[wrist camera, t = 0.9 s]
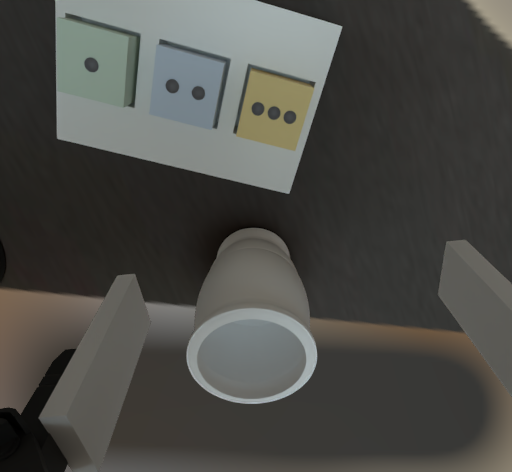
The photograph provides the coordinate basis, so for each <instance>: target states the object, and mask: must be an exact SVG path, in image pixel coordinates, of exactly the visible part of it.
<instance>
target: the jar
mask: <svg viewBox="0 0 512 472" xmlns="http://www.w3.org/2000/svg"><path fill="white" fill-rule="evenodd" d="M316 362H317V349H316V344H315V340H314V338H313V335H312V333H311V331H310V313H309V305H308V300H307V295H306V292H305V289H304V286H303V284H302V281H301V279H300V277H299V275H298V273H297V271H296V268H295V266H294V264H293V262H292V261H291V259H290V254H289V251H288V248H287V246H286V244H285V243H284V241H283V240H282V239H281V238H280V237H279V236H277V235H276V234H275V233H273V232H271V231H268V230H266V229H262V228H245V229H241V230H239V231H236V232H234V233H232V234H231V235H229V236H228V237H227V238H226V239H225V240H224V241H223V243H222V244H221V246H220V247H219V250H218V253H217V258H216V260H215V261H214V263H213V264H212V266H211V268H210V271H209V273H208V274H207V276H206V278H205V280H204V282H203V285H202V287H201V290H200V293H199V296H198V300H197V305H196V311H195V329H194V331H193V333H192V334H191V337H190V339H189V343H188V348H187V364H188V368H189V370H190V372H191V374H192V376H193V378H194V379H195V380H196V381H197V383H199V385H200V386H202V387H203V388H204V389H205V390H207V391H208V392H210V393H211V394H213V395H215V396H217V397H220V398H222V399H225V400H228V401H232V402H237V403H247V404H258V403H266V402H271V401H275V400H278V399H281V398H284V397H286V396H288V395H290V394H292V393H294V392H295V391H297V390H298V389H299V388H301V387H302V386H303V385H304V384H305V383H306V382H307V381H308V380H309V378H310V377H311V375H312V373H313V371H314V369H315V366H316Z"/></svg>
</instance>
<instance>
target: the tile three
mask: <svg viewBox="0 0 512 472" xmlns="http://www.w3.org/2000/svg"><path fill="white" fill-rule="evenodd" d="M313 91H314V87H313V86H311V85H310V84H309V83H305V82H301V81H298V80H294V79H291V78H287V77H283V76H280V75H276V74H273V73H269V72H265V71H262V70H258V69H255V68H251V71H250V75H249V80H248V84H247V89H246V93H245V98H244V102H243V107H242V111H241V115H240V120H239V124H238V129H237V134H236V136H237V137H241V138H245V139H249V140H253V141H257V142H261V143H264V144H268V145H272V146H276V147H280V148H284V149H288V150H292V151H295V150H296V147H297V143H298V140H299V137H300V134H301V130H302V127H303V124H304V121H305V117H306V114H307V111H308V108H309V104H310V101H311V98H312V95H313Z"/></svg>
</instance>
